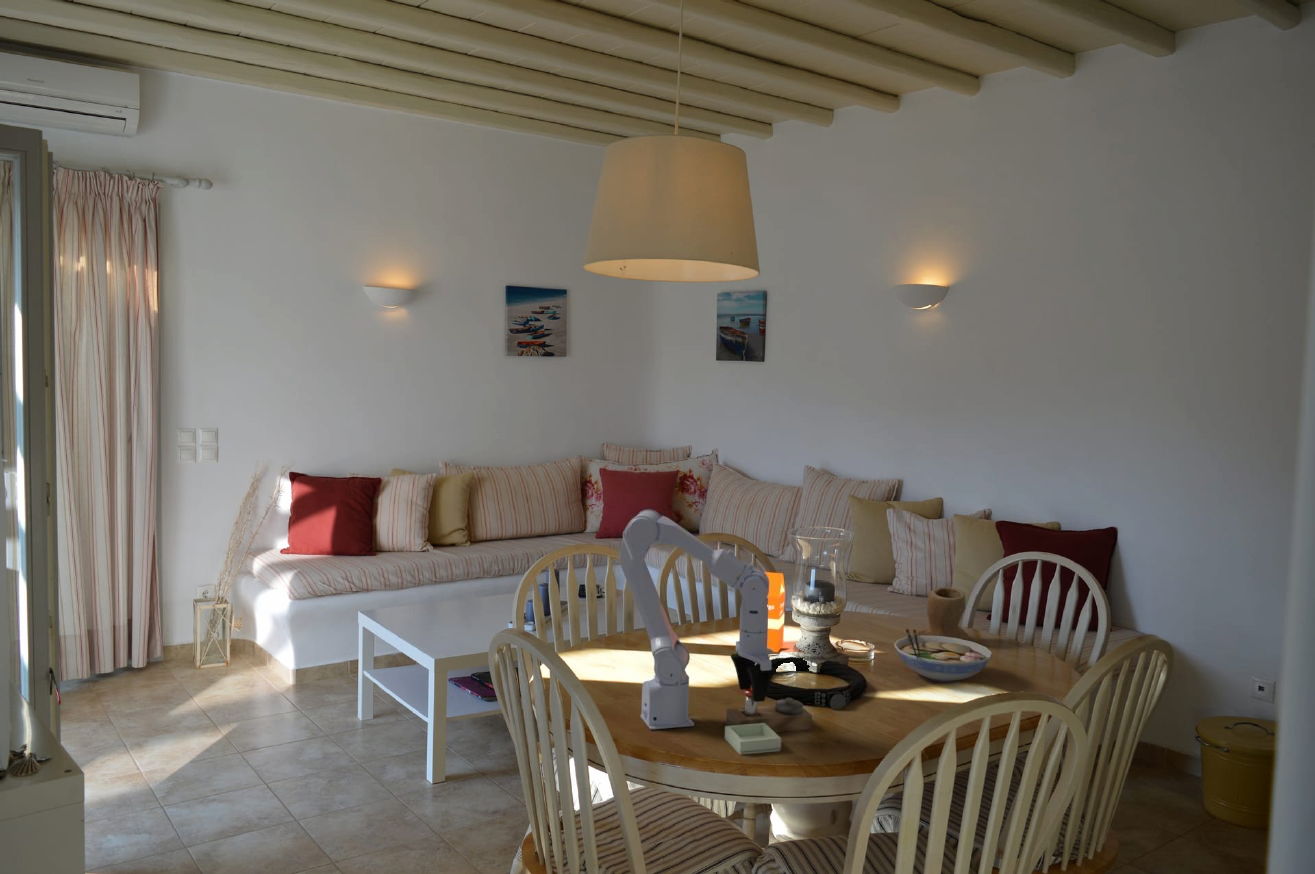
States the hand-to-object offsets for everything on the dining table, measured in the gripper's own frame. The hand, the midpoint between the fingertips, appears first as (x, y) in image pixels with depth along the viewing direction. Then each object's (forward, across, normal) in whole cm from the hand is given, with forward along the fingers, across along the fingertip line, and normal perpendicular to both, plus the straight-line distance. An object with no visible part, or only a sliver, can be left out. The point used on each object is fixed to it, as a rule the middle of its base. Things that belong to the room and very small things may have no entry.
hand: (751, 694), depth 202 cm
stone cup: (+7, +49, -77) cm, 91 cm away
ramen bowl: (+7, +21, -58) cm, 62 cm away
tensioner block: (+7, 0, -4) cm, 8 cm away
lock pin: (+7, 0, 0) cm, 7 cm away
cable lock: (+8, +21, -23) cm, 32 cm away
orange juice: (+7, +55, -26) cm, 61 cm away
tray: (+7, -8, +3) cm, 11 cm away
